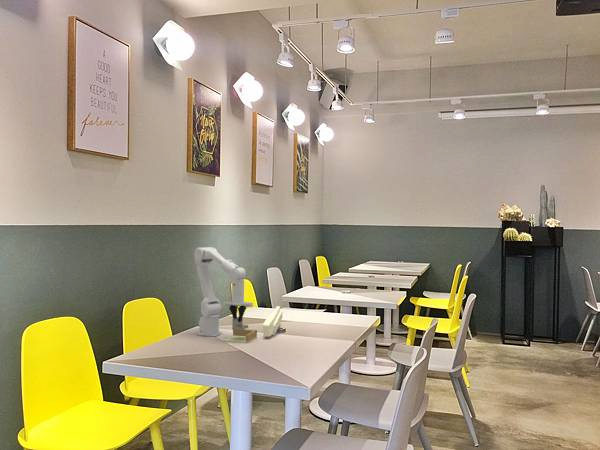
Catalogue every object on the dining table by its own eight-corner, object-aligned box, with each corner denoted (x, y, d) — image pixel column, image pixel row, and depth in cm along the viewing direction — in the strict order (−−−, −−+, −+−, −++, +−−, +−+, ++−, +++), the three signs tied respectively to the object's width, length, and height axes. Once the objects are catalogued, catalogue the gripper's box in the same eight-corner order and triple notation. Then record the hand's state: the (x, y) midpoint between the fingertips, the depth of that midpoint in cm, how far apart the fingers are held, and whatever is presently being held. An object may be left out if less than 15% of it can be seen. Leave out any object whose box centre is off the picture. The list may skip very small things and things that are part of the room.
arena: (224, 341, 238) (224, 333, 238) (233, 336, 250) (233, 328, 250) (248, 343, 235) (248, 335, 235) (256, 337, 247) (256, 330, 247)
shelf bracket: (284, 328, 269) (283, 306, 267) (272, 349, 245) (271, 324, 243) (274, 328, 271) (273, 306, 268) (261, 348, 247) (260, 324, 244)
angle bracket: (238, 326, 245) (238, 316, 246) (248, 327, 244) (248, 317, 244) (232, 329, 238) (232, 318, 238) (242, 330, 236) (242, 319, 237)
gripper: (220, 293, 240) (220, 322, 240) (249, 294, 236) (249, 323, 236) (226, 291, 246) (226, 319, 246) (254, 292, 243) (254, 321, 243)
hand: (237, 321), depth 242 cm, fingers closed on angle bracket
